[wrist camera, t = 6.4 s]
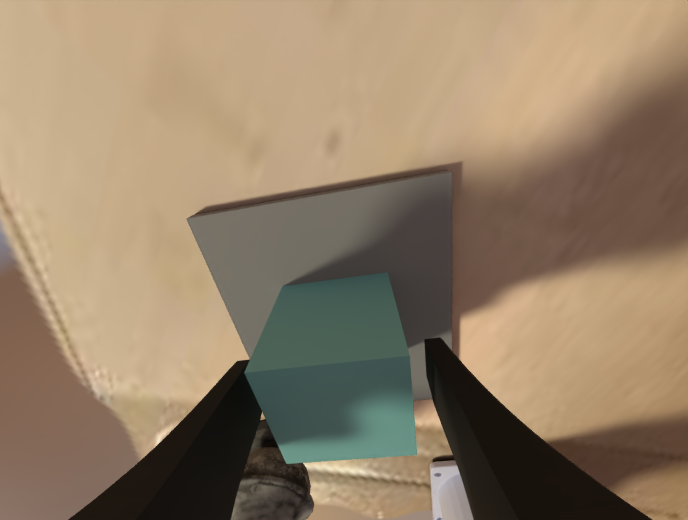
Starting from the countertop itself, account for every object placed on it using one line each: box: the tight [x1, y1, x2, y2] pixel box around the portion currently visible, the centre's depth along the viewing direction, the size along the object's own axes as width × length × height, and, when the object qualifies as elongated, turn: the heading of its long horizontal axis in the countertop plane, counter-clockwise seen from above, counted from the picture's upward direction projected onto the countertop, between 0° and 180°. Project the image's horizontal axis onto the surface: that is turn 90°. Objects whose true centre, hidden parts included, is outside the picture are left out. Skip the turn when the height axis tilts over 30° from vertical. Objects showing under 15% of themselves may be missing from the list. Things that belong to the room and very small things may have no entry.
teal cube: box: [244, 272, 417, 464], centre depth 11 cm, size 5×5×5 cm
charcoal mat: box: [187, 170, 452, 401], centre depth 14 cm, size 13×11×1 cm
